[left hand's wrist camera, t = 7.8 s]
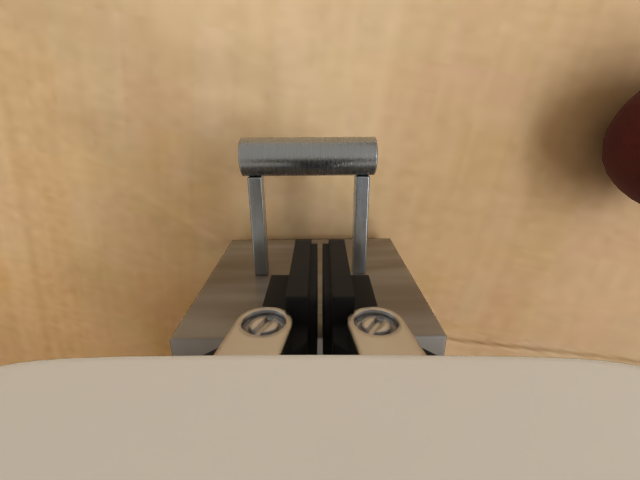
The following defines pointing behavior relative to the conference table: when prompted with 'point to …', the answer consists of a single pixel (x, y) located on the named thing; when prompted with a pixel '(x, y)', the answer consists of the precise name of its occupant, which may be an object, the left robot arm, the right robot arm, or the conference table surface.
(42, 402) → the left robot arm
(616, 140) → the potato
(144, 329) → the conference table surface
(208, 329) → the drawer
